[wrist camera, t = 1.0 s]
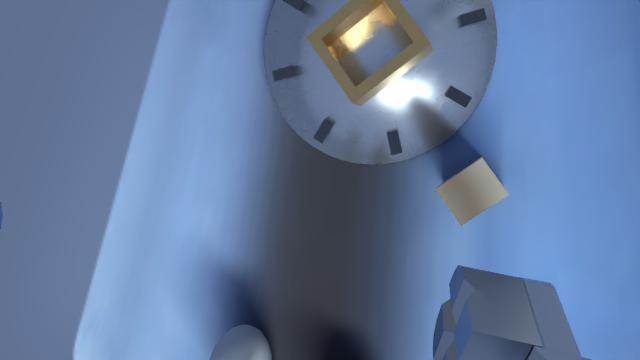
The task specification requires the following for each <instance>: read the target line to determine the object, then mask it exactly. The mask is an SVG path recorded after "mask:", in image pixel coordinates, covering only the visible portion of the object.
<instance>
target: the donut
mask: <svg viewBox="0 0 640 360" xmlns="http://www.w3.org/2000/svg"><path fill="white" fill-rule="evenodd" d="M210 360H272V354H271V349H270V346H269V343H268V341H267V339H266V338H265V336H264V335H263V333H262V332H261V331H260V330H259V329H257V328H255V327H253V326H250V325H246V324H245V325H239V326H236V327H234V328H231V329H229V330H228V331H227V332H226V333H225V334H224V335H223V336H222V338H221V339H220V340H219V341H218V343H217V344H216V346H215V348H214V350H213V352H212V354H211V357H210Z"/></svg>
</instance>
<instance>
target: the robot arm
mask: <svg viewBox="0 0 640 360" xmlns="http://www.w3.org/2000/svg"><path fill="white" fill-rule="evenodd" d="M2 216H3V214H2V206H1V203H0V229H1V224H2ZM449 286H450V297H451V299H449V300H448V301H446V302H445V303H443V304H442V305H441V308H440V311H439V314H438V317H437V321H436V326H435V331H434V338H433V360H591V359H587V358H583V357H581V355H580V352H579V350H578V347H577V344H576V342H575V339H574V337H573V334H572V331H571V329H570V326H569V323H568V321H567V318H566V316H565V313H564V310H563V308H562V305H561V303H560V300H559V297H558V295H557V292H556V290H555V287H554V286H553V285H551V284H550V283H547V282H542V281H537V280H531V279H526V278H521V277H519V278H518V277H513V276H508V275H503V274H499V273H494V272H489V271H484V270H479V269H475V268H470V267H465V266H460V265H458V266H457V268H456V269H455V271H454V273H453V276H452V278H451V281H450V284H449Z"/></svg>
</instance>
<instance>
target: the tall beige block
mask: <svg viewBox="0 0 640 360" xmlns="http://www.w3.org/2000/svg"><path fill="white" fill-rule="evenodd" d="M435 190H436V191H437V192H438V194H439V195H440V197H441V198H442V199H443V201H444V202H445V204H446V205H447V206H448V208H449V209H450V211H451V212H452V213H453V215H454V216H455V218H456V219H457V220H458V222H459V223H460V225H463V224H464V223H466V222H467V221H469V220H471V219H472V218H474V217H475V216H477V215H478V214H480V213H481V212H483V211H485V210H486V209H488V208H489V207H491V206H492V205H494V204H495V203H497V202H499V201H500V200H502V199H503V198H505V197H506V196H508V195H509V194H508V192H507V191H506V189H505V188H504V186H503V185H502V184H501V182H500V181H499V179H498V178H497V177H496V175H495V174H494V173H493V171H492V170H491V169H490V167H489V166H488V164H487V163H486V162H485V160H484V159H483V158H482V156H481V157H480V158H478V159H477V160H475V161H474V162H472V163H471V164H469V165H468V166H466V167H465V168H463V169H462V170H460V171H459V172H457V173H456V174H454V175H453V176H451V177H450V178H448V179H447V180H445V181H444V182H443V183H442V184H441V185H439V186H438V187H437V188H436V189H435Z"/></svg>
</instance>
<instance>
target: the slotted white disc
mask: <svg viewBox="0 0 640 360" xmlns="http://www.w3.org/2000/svg"><path fill="white" fill-rule="evenodd" d="M496 46H497V28H496V21H495V15H494V10H493V6H492V3H491V0H276V1H275V3H274V5H273V8H272V11H271V14H270V17H269V20H268V24H267V29H266V34H265V45H264V61H265V70H266V76H267V81H268V84H269V87H270V91H271V94H272V96H273V98H274V101H275V103H276V105H277V107H278V109H279V110H280V112H281V114H282V115H283V117H284V119H285V120H286V121H287V122H288V124H289V125H290V126H291V127H292V129H293V130H294V131H295V132H296V133H297V134H298V135H299V136H300V137H301V138H302V139H304V140H305V141H306V142H308V143H309V144H310V145H312V146H313V147H315V148H316V149H318V150H320V151H322V152H324V153H325V154H327V155H330V156H332V157H335V158H338V159H340V160H344V161H348V162H352V163H360V164H388V163H394V162H400V161H404V160H407V159H411V158H414V157H417V156H419V155H421V154H423V153H426V152H428V151H430V150H432V149H433V148H435V147H437V146H438V145H440V144H442V143H443V142H444V141H446V140H447V139H448V138H449V137H451V136H452V135H453V134H454V133H456V132H457V130H458V129H459V128H460V127H461V126H462V125H463V124H464V123H465V122H466V121H467V120H468V118H469V117H470V116H471V114H472V113H473V112H474V110H475V109H476V108H477V106H478V104H479V102H480V101H481V99H482V97H483V95H484V93H485V91H486V88H487V86H488V83H489V81H490V78H491V74H492V70H493V66H494V62H495V55H496Z"/></svg>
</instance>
